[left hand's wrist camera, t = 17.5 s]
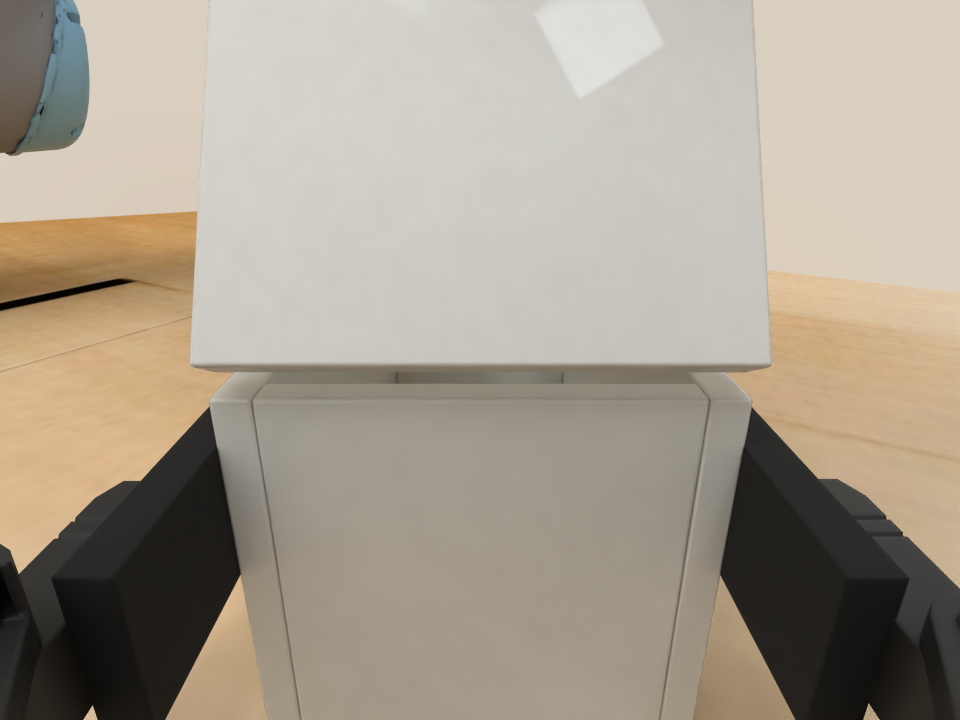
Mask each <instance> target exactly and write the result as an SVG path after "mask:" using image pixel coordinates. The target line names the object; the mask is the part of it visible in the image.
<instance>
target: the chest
mask: <svg viewBox="0 0 960 720" xmlns="http://www.w3.org/2000/svg"><path fill="white" fill-rule="evenodd" d="M209 405H210V411H211V416H212V422H213V427H214V433H215V438H216V443H217V449H218V454H219V460H220V465H221V470H222V476H223V481H224V487H225V492H226V498H227V503H228V508H229V514H230V519H231V525H232V530H233V535H234V541H235V546H236V552H237V557H238V563H239V568H240V573H241V579H242V584H243V590H244V595H245V600H246V606H247V611H248V617H249V622H250V628H251V633H252V638H253V644H254V649H255V655H256V660H257V665H258V671H259V676H260V682H261V687H262V692H263V698H264V703H265V709H266V714H267V720H693V717H694V712H695V707H696V701H697V696H698V691H699V685H700V680H701V675H702V669H703V664H704V659H705V653H706V648H707V643H708V637H709V632H710V627H711V621H712V616H713V611H714V605H715V600H716V595H717V589H718V584H719V579H720V572H721V566H722V561H723V556H724V550H725V545H726V540H727V534H728V529H729V523H730V518H731V513H732V507H733V502H734V497H735V491H736V486H737V481H738V475H739V470H740V464H741V459H742V454H743V448H744V445H745V440H746V434H747V429H748V424H749V418H750V413H751V408H752V399H751V398H750V397H749V396H748V395H747V394H746V392H745V391H744V390H743V389H742V388H741V387H740V386H739V385H738V384H737V383H736V382H735V381H734V380H733V379H732V378H731V377H730V376H729V375H728V373H727V372H234V374H233V375H232V376H231V377H230V378H229V379H228V380H227V381H226V382H225V383H224V384H223V385H222V386H221V387H220V388H219V390H218V391H217V392H216V393H215V394H214V395H213V396H212V397H211V398H210V400H209Z"/></svg>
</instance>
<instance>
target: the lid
mask: <svg viewBox="0 0 960 720" xmlns="http://www.w3.org/2000/svg"><path fill="white" fill-rule="evenodd" d="M771 363H772V356H771V337H770V318H769V299H768V280H767V261H766V242H765V223H764V204H763V185H762V166H761V147H760V128H759V109H758V90H757V71H756V52H755V33H754V14H753V0H209V5H208V23H207V43H206V62H205V80H204V100H203V118H202V137H201V156H200V175H199V194H198V213H197V232H196V251H195V270H194V289H193V308H192V327H191V346H190V365H191V366H192V367H195V368H199V369H204V370H208V371H213V372H749V371H754V370H758V369H763V368H767V367H770V366H771Z"/></svg>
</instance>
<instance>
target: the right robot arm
mask: <svg viewBox="0 0 960 720" xmlns="http://www.w3.org/2000/svg"><path fill="white" fill-rule="evenodd" d="M88 104H89V64H88V54H87V45H86V39H85V34H84V31H83V28H82V27H81V26H80V15H79V12H78V10H77V7H76V5H75V3H74V1H73V0H0V153H6V154H8V155H10V156H15V155H19V154H21V153H22V152H34V151H46V150H58V149H63V148H66V147H68V146H70V145H72V144H73V143H74V142H75V141H76V140H77V139H78V138H79V136H80V135H81V133H82V131H83V128H84V124H85V121H86V117H87V111H88Z"/></svg>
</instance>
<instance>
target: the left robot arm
mask: <svg viewBox="0 0 960 720" xmlns="http://www.w3.org/2000/svg"><path fill="white" fill-rule="evenodd" d="M240 575H241V573H240V568H239V563H238V557H237V552H236V546H235V541H234V535H233V530H232V525H231V519H230V514H229V508H228V503H227V498H226V492H225V487H224V481H223V476H222V470H221V465H220V460H219V454H218V449H217V443H216V438H215V433H214V427H213V422H212V416H211V411H210V407H209V408H208V409H207V410H206V411H205V412H204V413H203V414H202V415H201V416H200V417H199V418H198V419H197V421H196V422H195V423H194V424H193V425H192V426H191V427H190V428H189V429H188V430H187V431H186V432H185V434H184V435H183V436H182V437H181V438H180V439H179V440H178V441H177V442H176V443H175V444H174V445H173V447H172V448H171V449H170V450H169V451H168V452H167V453H166V454H165V455H164V456H163V457H162V458H161V460H160V461H159V462H158V463H157V464H156V465H155V466H154V467H153V468H152V469H151V470H150V471H149V473H148V474H147V475H146V476H145V477H144V478H143V479H142V480H141V481H123V482H121V483H120V484H118V485H116V486H115V487H113V488H111V489H110V490H108V491H106V492H105V493H103V494H101V495H99V496H98V497H96V498H95V499H94V500H93V501H92V502H91V503H90V504H89V505H88V506H87V507H86V508H85V509H84V510H83V511H82V512H81V513H80V514H79V515H78V516H77V517H76V518H75V522H71V523H70V524H69V525H68V526H67V527H66V528H65V529H64V530H63V531H62V532H61V533H60V534H59V538H58V539H54V540H53V541H52V542H51V543H50V544H49V545H48V546H47V547H46V548H45V549H44V550H43V551H42V552H41V553H40V554H39V555H38V556H37V557H36V558H35V559H34V560H33V561H32V562H31V563H30V564H29V565H28V566H27V567H26V568H25V569H24V570H23V571H22V572H21V573H20V574H18V571H17V568H16V566H15V563H14V560H13V557H12V554H11V551H10V550H9V549H7V548H6V547H4V546H3V545H1V544H0V720H83V719H84V718H85V716H86V715H87V713H88V711H89V710H90V708H91V707H92V705H93V707H94V710H95V713H96V716H97V719H98V720H165V719H166V717H167V715H168V713H169V711H170V709H171V707H172V705H173V704H174V702H175V700H176V698H177V696H178V694H179V692H180V690H181V688H182V686H183V684H184V682H185V680H186V679H187V677H188V675H189V673H190V671H191V669H192V667H193V665H194V663H195V661H196V659H197V657H198V655H199V654H200V652H201V650H202V648H203V646H204V644H205V642H206V640H207V638H208V636H209V634H210V632H211V630H212V628H213V627H214V625H215V623H216V621H217V619H218V617H219V615H220V613H221V611H222V609H223V607H224V605H225V603H226V602H227V600H228V598H229V596H230V594H231V592H232V590H233V588H234V586H235V584H236V582H237V580H238V578H239V576H240ZM720 575H721V577H722V579H723V581H724V583H725V585H726V587H727V589H728V591H729V593H730V595H731V596H732V598H733V600H734V602H735V604H736V606H737V608H738V610H739V612H740V614H741V616H742V618H743V620H744V621H745V623H746V625H747V627H748V629H749V631H750V633H751V635H752V637H753V639H754V641H755V643H756V645H757V647H758V648H759V650H760V652H761V654H762V656H763V658H764V660H765V662H766V664H767V666H768V668H769V670H770V672H771V673H772V675H773V677H774V679H775V681H776V683H777V685H778V687H779V689H780V691H781V693H782V695H783V697H784V698H785V700H786V702H787V704H788V706H789V708H790V710H791V712H792V714H793V716H794V718H795V720H863V718H864V715H865V712H866V709H867V706H868V703H869V704H870V706H871V707H872V709H873V710H874V712H875V713H876V715H877V716H878V718H879V719H880V720H960V589H959V588H958V587H957V586H956V585H955V584H954V583H953V582H952V581H951V580H950V579H949V578H948V577H947V576H946V575H945V574H944V573H943V572H942V571H941V570H940V569H939V568H938V567H937V566H936V565H935V564H934V563H933V562H932V561H931V560H930V559H929V558H928V557H927V556H926V555H925V554H924V553H923V552H922V551H921V550H920V549H919V548H918V547H917V546H916V545H915V544H914V543H913V542H912V541H911V540H910V539H909V538H908V537H904V536H903V532H902V531H901V530H900V529H899V528H898V527H897V526H896V525H895V524H894V523H893V522H892V521H891V520H887V519H886V515H885V514H884V513H883V512H882V511H881V510H880V509H879V508H878V507H877V506H876V505H875V504H874V503H873V502H872V501H871V500H870V499H869V498H868V497H867V496H865V495H863V494H862V493H860V492H858V491H857V490H855V489H853V488H852V487H850V486H848V485H847V484H845V483H843V482H841V481H840V480H838V479H818V478H817V477H816V476H815V475H814V474H813V473H812V472H811V471H810V470H809V469H808V467H807V466H806V465H805V464H804V463H803V462H802V461H801V460H800V459H799V458H798V457H797V456H796V454H795V453H794V452H793V451H792V450H791V449H790V448H789V447H788V446H787V445H786V444H785V443H784V441H783V440H782V439H781V438H780V437H779V436H778V435H777V434H776V433H775V432H774V431H773V430H772V429H771V427H770V426H769V425H768V424H767V423H766V422H765V421H764V420H763V419H762V418H761V417H760V416H759V414H758V413H757V412H756V411H755V410H754V409H753V408H751V413H750V418H749V424H748V429H747V434H746V440H745V445H744V448H743V454H742V459H741V464H740V470H739V475H738V481H737V486H736V491H735V497H734V502H733V507H732V513H731V518H730V523H729V529H728V534H727V540H726V545H725V550H724V556H723V561H722V566H721V572H720Z"/></svg>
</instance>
